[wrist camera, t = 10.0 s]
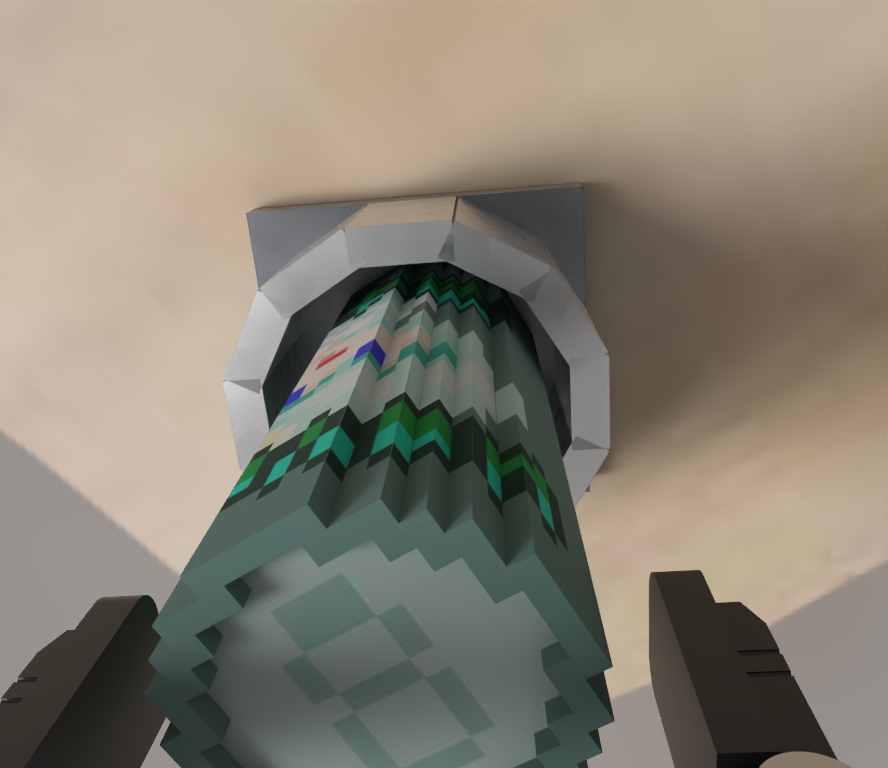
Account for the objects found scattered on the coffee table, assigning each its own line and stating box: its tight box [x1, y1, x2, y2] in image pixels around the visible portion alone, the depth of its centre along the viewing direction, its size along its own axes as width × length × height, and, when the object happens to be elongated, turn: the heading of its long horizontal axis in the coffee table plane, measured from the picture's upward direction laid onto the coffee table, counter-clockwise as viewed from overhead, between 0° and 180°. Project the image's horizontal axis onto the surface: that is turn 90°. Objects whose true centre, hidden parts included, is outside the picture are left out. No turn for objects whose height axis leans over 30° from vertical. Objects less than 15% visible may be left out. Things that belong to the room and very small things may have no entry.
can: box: [145, 262, 614, 768], centre depth 18 cm, size 6×6×15 cm
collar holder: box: [223, 182, 610, 508], centre depth 23 cm, size 10×10×6 cm
